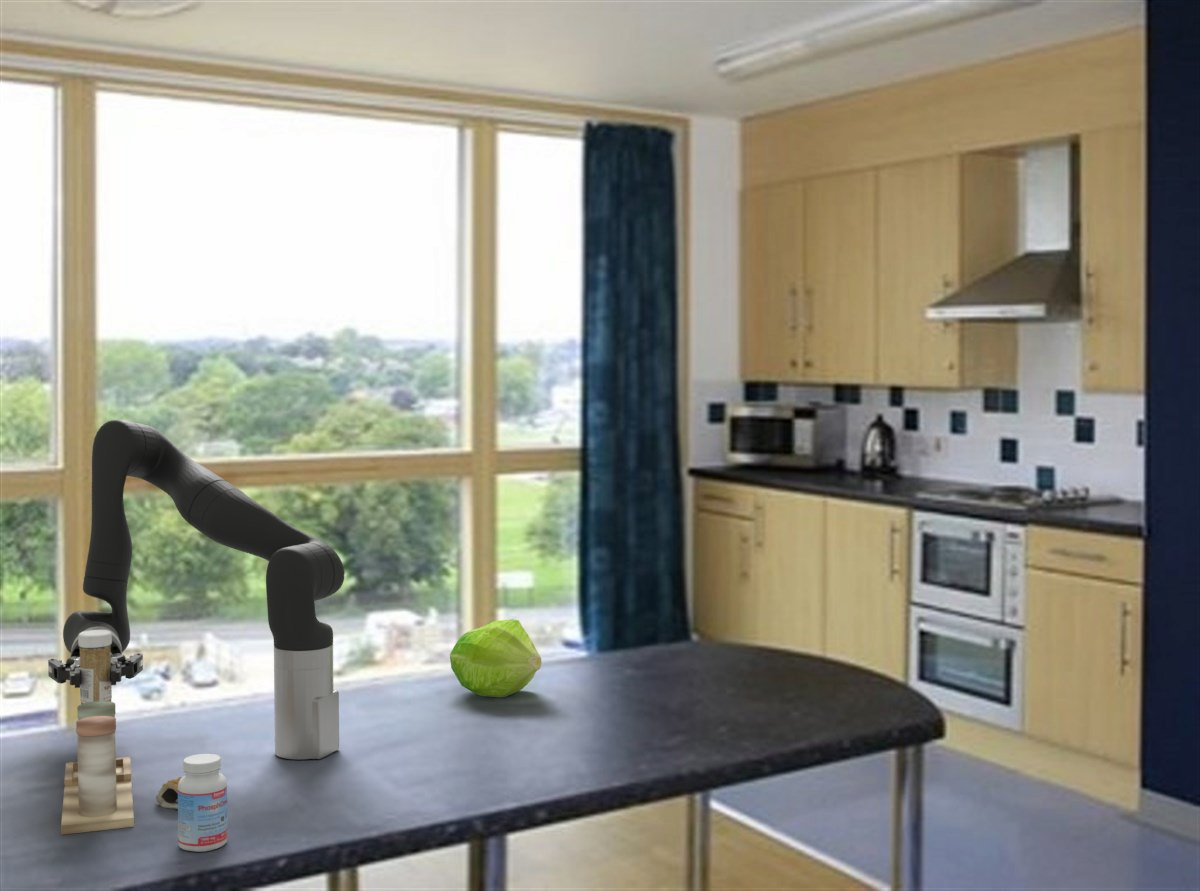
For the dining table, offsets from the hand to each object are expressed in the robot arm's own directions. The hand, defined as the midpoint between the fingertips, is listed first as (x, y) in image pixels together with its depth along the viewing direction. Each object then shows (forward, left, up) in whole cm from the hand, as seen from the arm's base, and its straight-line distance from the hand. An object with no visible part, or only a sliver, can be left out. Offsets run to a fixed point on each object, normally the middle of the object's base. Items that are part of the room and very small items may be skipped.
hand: (95, 679), depth 192 cm
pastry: (-16, 0, -16) cm, 23 cm away
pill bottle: (-28, +14, -16) cm, 36 cm away
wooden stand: (-4, +5, -16) cm, 17 cm away
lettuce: (-32, -70, -16) cm, 79 cm away
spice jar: (+2, -2, -7) cm, 8 cm away
